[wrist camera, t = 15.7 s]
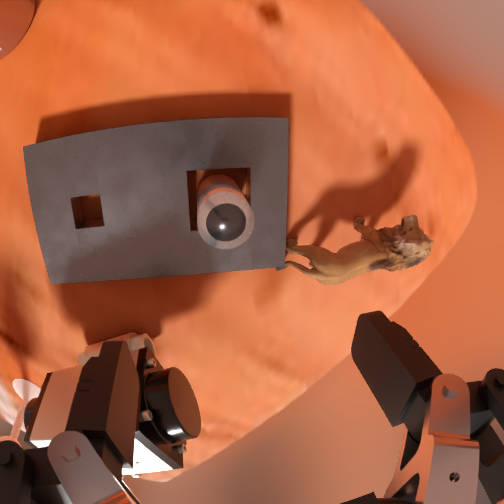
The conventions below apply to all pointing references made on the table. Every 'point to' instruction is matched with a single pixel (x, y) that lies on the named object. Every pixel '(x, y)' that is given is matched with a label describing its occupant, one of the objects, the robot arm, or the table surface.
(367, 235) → the lion figurine
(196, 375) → the table surface
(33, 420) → the security camera
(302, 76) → the table surface
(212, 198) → the flashlight
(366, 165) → the table surface
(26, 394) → the champagne flute
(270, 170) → the grey board with holes
